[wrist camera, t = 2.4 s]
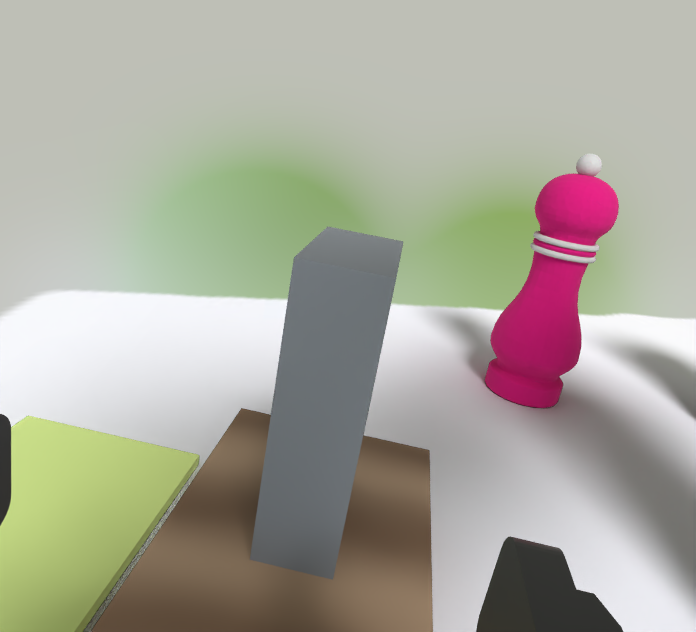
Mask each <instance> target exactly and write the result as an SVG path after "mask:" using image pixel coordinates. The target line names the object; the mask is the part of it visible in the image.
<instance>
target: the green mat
mask: <svg viewBox="0 0 696 632" xmlns="http://www.w3.org/2000/svg"><path fill="white" fill-rule="evenodd" d="M198 464H199V455H197V454H193V453H188V452H184V451H180V450H175V449H171V448H166V447H162V446H158V445H153V444H149V443H145V442H140V441H136V440H132V439H127V438H123V437H119V436H114V435H110V434H106V433H101V432H97V431H93V430H88V429H84V428H80V427H75V426H71V425H67V424H62V423H58V422H54V421H49V420H45V419H41V418H36V417H32V416H27V417H25V418H24V419H22V420H21V421H20V422H18V423H17V424H15V425H14V426H12V427H11V502H10V506H9V509H8V512H7V514H6V516H5V518H4V520H3V522H2V524H1V525H0V632H83V631H84V629H85V628H86V626H87V625H88V623H89V622H90V620H91V619H92V618H93V616H94V615H95V613H96V612H97V610H98V609H99V607H100V606H101V605H102V603H103V602H104V600H105V599H106V597H107V596H108V594H109V593H110V592H111V590H112V589H113V587H114V586H115V584H116V583H117V581H118V580H119V579H120V577H121V576H122V574H123V573H124V571H125V570H126V568H127V567H128V566H129V564H130V563H131V561H132V560H133V558H134V557H135V555H136V554H137V552H138V551H139V550H140V548H141V547H142V545H143V544H144V542H145V541H146V539H147V538H148V537H149V535H150V534H151V532H152V531H153V529H154V528H155V526H156V525H157V524H158V522H159V521H160V519H161V518H162V516H163V515H164V513H165V512H166V511H167V509H168V508H169V506H170V505H171V503H172V502H173V500H174V499H175V498H176V496H177V495H178V493H179V492H180V490H181V489H182V487H183V486H184V485H185V483H186V482H187V480H188V479H189V477H190V476H191V474H192V473H193V472H194V470H195V469H196V467H197V466H198Z"/></svg>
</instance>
